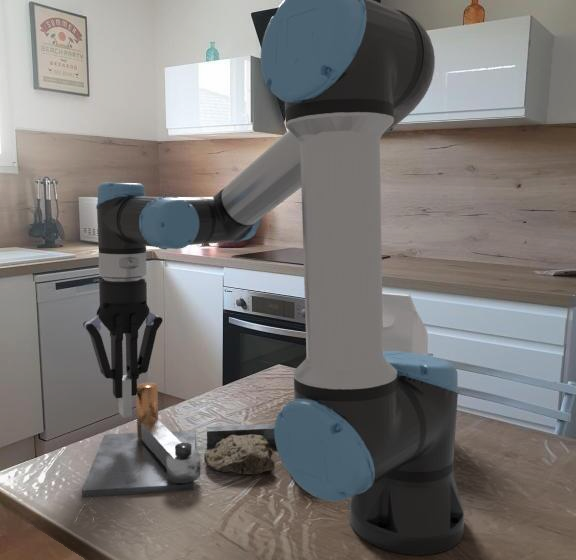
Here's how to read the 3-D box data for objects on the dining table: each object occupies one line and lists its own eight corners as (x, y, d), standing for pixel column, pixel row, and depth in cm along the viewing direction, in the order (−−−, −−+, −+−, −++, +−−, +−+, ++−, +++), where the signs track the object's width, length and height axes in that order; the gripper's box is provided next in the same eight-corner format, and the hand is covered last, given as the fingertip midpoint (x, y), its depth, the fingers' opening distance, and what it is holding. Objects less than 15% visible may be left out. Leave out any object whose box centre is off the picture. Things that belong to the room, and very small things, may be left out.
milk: (427, 426, 112) (434, 292, 108) (411, 449, 102) (417, 302, 98) (368, 415, 118) (372, 286, 114) (346, 436, 108) (350, 295, 104)
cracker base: (313, 483, 90) (313, 439, 89) (81, 496, 85) (79, 451, 84) (293, 431, 110) (294, 394, 109) (104, 439, 105) (103, 402, 104)
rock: (205, 451, 101) (205, 428, 100) (270, 449, 102) (270, 426, 101) (202, 482, 91) (202, 456, 90) (274, 479, 92) (274, 453, 91)
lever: (205, 477, 88) (205, 420, 87) (173, 486, 86) (172, 427, 84) (158, 428, 106) (157, 380, 105) (130, 434, 104) (129, 385, 102)
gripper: (88, 283, 90) (92, 429, 94) (168, 278, 97) (169, 414, 101) (76, 276, 96) (80, 414, 100) (153, 272, 103) (154, 401, 107)
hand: (125, 414), depth 100 cm, fingers closed
